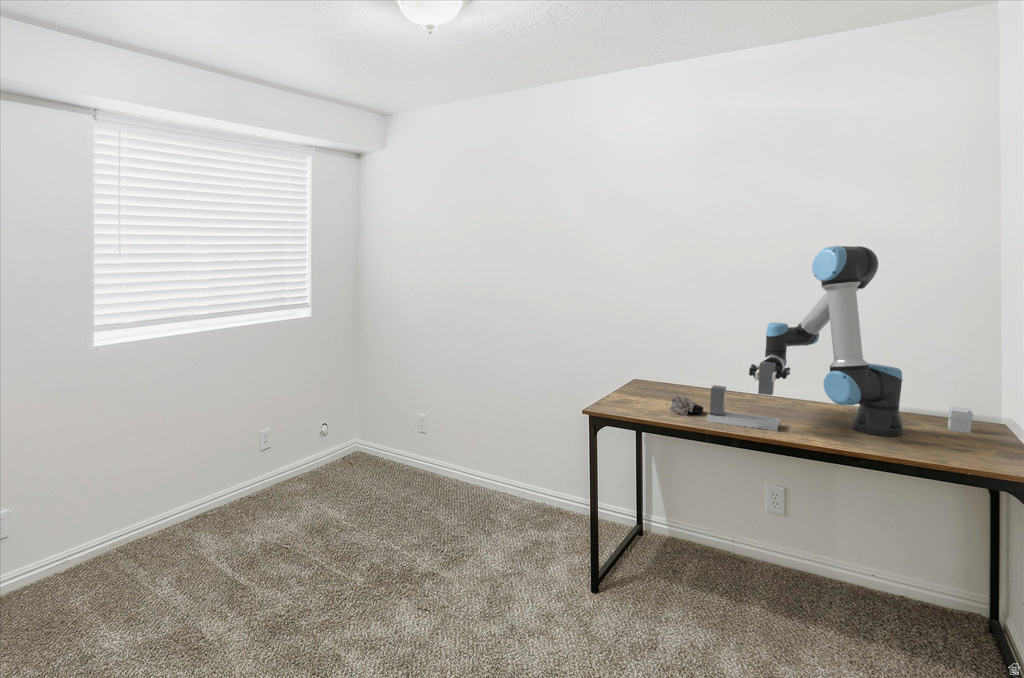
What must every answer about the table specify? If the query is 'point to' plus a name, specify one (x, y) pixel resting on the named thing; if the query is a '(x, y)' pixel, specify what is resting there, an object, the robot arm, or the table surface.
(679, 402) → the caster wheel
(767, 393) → the grey upright block
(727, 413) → the grey block stand
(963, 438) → the table surface
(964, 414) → the skincare box
